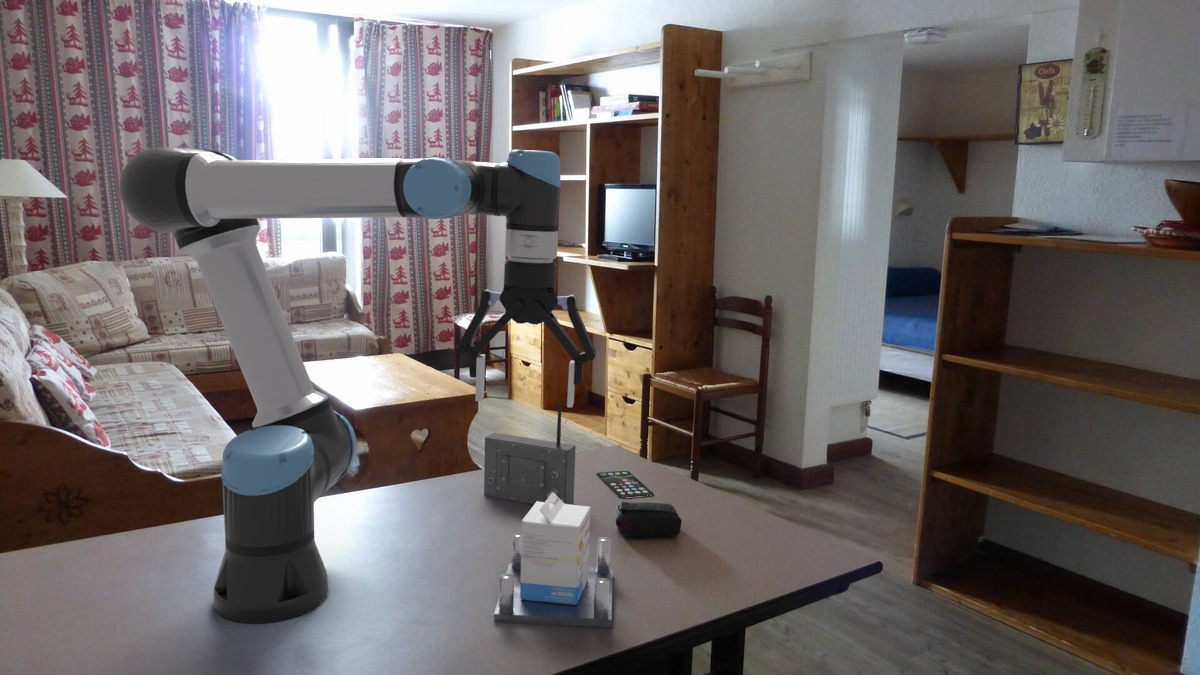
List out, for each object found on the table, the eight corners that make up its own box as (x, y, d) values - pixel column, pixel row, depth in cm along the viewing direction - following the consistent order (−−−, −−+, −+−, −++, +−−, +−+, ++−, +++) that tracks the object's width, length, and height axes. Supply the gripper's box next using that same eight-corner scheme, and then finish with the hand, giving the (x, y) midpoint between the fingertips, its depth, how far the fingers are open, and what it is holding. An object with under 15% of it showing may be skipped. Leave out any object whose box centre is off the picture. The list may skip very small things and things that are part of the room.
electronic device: (573, 503, 162) (577, 400, 159) (559, 515, 156) (562, 408, 152) (491, 488, 168) (493, 389, 165) (474, 499, 162) (476, 396, 158)
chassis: (493, 622, 117) (494, 579, 116) (508, 570, 133) (509, 532, 132) (611, 627, 117) (613, 585, 116) (612, 575, 133) (614, 537, 132)
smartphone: (628, 470, 181) (655, 494, 167) (628, 473, 181) (655, 497, 167) (595, 472, 179) (619, 497, 165) (594, 475, 179) (619, 500, 165)
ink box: (577, 606, 120) (580, 515, 118) (518, 599, 121) (521, 509, 119) (588, 579, 128) (592, 494, 126) (534, 573, 130) (536, 488, 127)
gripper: (439, 256, 121) (435, 402, 125) (615, 267, 120) (607, 414, 124) (451, 252, 129) (447, 390, 133) (618, 262, 128) (609, 401, 131)
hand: (524, 402), depth 128 cm, fingers open, 13 cm apart
